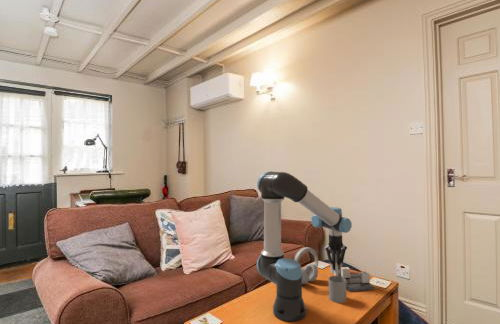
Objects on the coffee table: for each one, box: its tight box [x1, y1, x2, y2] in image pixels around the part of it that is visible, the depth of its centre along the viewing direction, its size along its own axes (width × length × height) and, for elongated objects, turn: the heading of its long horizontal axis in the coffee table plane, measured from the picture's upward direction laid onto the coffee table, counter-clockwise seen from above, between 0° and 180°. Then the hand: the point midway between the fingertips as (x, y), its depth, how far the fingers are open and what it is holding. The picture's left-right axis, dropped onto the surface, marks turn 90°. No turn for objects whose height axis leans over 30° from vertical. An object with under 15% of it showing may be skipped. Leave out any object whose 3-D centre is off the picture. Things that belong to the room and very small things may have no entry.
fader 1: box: [341, 266, 351, 278], centre depth 167 cm, size 4×3×5 cm
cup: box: [328, 275, 347, 304], centre depth 146 cm, size 8×8×10 cm
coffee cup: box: [329, 247, 344, 274], centre depth 181 cm, size 9×9×15 cm
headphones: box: [293, 246, 319, 285], centre depth 166 cm, size 19×8×20 cm, turn 126°
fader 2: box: [359, 271, 371, 283], centre depth 160 cm, size 4×3×5 cm
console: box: [338, 272, 375, 292], centre depth 164 cm, size 14×18×3 cm
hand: (336, 275), depth 167 cm, fingers closed
